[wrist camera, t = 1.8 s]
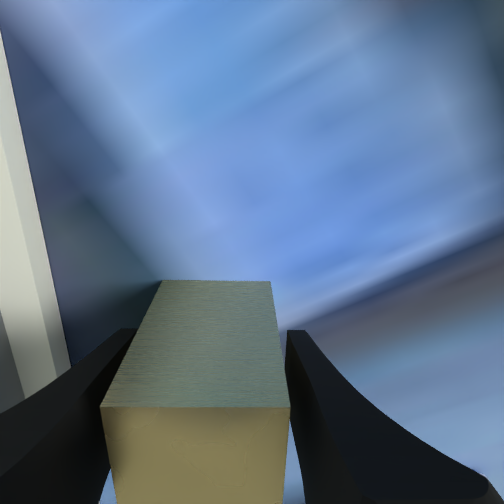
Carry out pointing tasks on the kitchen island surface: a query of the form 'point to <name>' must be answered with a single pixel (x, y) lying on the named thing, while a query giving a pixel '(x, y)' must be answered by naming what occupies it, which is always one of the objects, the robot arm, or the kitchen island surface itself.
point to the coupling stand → (23, 271)
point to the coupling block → (201, 399)
